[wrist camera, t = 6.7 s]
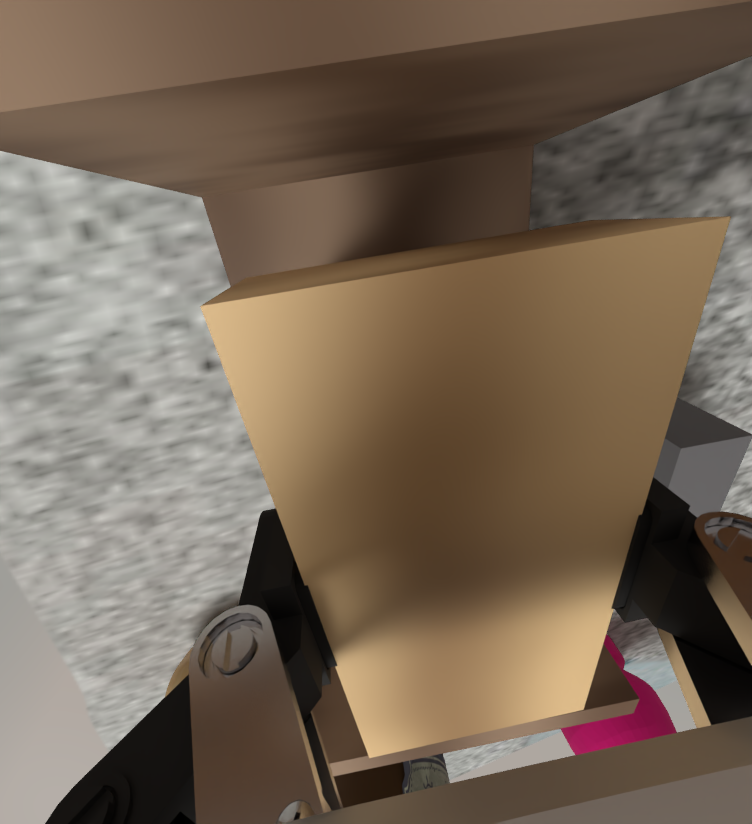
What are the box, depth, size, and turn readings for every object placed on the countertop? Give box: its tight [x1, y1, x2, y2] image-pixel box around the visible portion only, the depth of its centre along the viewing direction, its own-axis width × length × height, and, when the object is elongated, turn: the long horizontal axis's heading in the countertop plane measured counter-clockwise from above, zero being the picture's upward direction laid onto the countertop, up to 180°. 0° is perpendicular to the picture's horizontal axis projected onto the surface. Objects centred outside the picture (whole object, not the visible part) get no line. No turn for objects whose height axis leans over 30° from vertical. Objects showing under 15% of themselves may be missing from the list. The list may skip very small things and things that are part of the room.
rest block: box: [653, 398, 752, 518], centre depth 18 cm, size 3×8×4 cm, turn 8°
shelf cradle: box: [0, 0, 752, 776], centre depth 12 cm, size 11×18×10 cm, turn 8°
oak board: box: [200, 217, 731, 758], centre depth 8 cm, size 6×12×2 cm, turn 8°
